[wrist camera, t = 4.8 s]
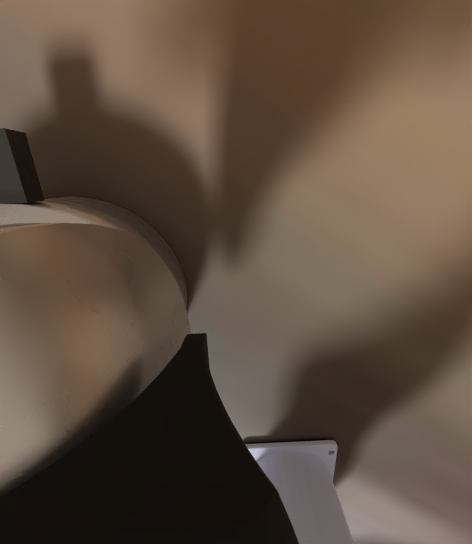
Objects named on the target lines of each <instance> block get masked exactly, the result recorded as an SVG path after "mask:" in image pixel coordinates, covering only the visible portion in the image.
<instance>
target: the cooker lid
mask: <svg viewBox="0 0 472 544" xmlns="http://www.w3.org/2000/svg"><path fill="white" fill-rule="evenodd" d="M187 334H190V327H189V320H188V316H187V311H186V307H185V304H184V300H183V297H182V294H181V291H180V289H179V287H178V284H177V282H176V280H175V278H174V276H173V275H172V273H171V271H170V269H169V268H168V266H167V265H166V264H165V262H164V261H163V260H162V258H161V257H160V256H159V255H158V254H157V253H156V252H155V251H154V250H153V249H152V248H151V247H150V246H148V245H147V244H145V243H144V242H142V241H141V240H139V239H138V238H136V237H134V236H132V235H130V234H127V233H125V232H123V231H120V230H118V229H114V228H110V227H105V226H101V225H96V224H79V223H17V224H7V225H0V497H1V496H3V495H5V494H6V493H8V492H9V491H11V490H12V489H14V488H16V487H17V486H19V485H20V484H22V483H24V482H25V481H27V480H28V479H30V478H31V477H33V476H35V475H36V474H38V473H39V472H41V471H43V470H44V469H46V468H47V467H49V466H50V465H52V464H53V463H54V462H56V461H57V460H59V459H60V458H62V457H63V456H65V455H66V454H67V453H69V452H70V451H72V450H73V449H75V448H76V447H77V446H79V445H80V444H81V443H83V442H84V441H85V440H87V439H88V438H89V437H91V436H92V435H93V434H95V433H96V432H97V431H98V430H100V429H101V428H102V427H103V426H104V425H106V424H107V423H108V422H109V421H111V420H112V419H113V418H114V417H116V416H117V415H118V414H119V413H120V412H122V411H123V410H124V409H125V408H126V407H127V406H128V405H129V404H130V403H131V402H132V401H134V400H135V399H136V398H137V397H138V396H139V395H140V394H141V393H142V392H143V391H144V390H145V389H146V388H147V387H148V385H149V384H150V383H151V382H152V381H153V380H154V379H155V378H156V377H157V376H158V374H159V373H160V372H161V371H162V370H163V369H164V368H165V366H166V365H167V364H168V363H169V362H170V360H171V359H172V358H173V357H174V355H175V354H176V353H177V351H178V350H179V349H180V347H181V346H182V343H183V341H184V339H185V337H186V335H187Z"/></svg>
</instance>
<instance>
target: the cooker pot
mask: <svg viewBox="0 0 472 544" xmlns="http://www.w3.org/2000/svg"><path fill="white" fill-rule="evenodd" d="M17 223H79V224H96V225H101V226H105V227H110V228H114V229H118V230H120V231H123V232H125V233H127V234H130V235H132V236H134V237H136V238H138V239H139V240H141V241H142V242H144V243H145V244H147V245H148V246H150V247H151V248H152V249H153V250H154V251H155V252H156V253H157V254H158V255H159V256H160V257H161V258H162V260H163V261H164V262H165V264H166V265H167V266H168V268H169V269H170V271H171V273H172V275H173V276H174V278H175V280H176V282H177V284H178V287H179V289H180V291H181V294H182V297H183V300H184V304H185V307H186V310H187V287H186V281H185V277H184V274H183V271H182V268H181V266H180V263H179V261H178V259H177V257H176V255H175V254H174V252H173V251H172V249H171V248H170V246H169V245H168V243H167V242H166V241H165V240H164V239H163V237H162V236H161V235H160V234H159V233H158V232H157V231H156V230H155V229H154V228H153V227H152V226H150V225H149V224H148V223H147V222H145V221H144V220H143V219H141V218H140V217H138V216H137V215H135V214H133V213H132V212H130V211H128V210H126V209H124V208H122V207H120V206H117V205H115V204H113V203H109V202H106V201H102V200H99V199H94V198H88V197H72V196H68V197H59V198H50V199H44V197H43V194H42V190H41V187H40V183H39V179H38V176H37V172H36V169H35V165H34V162H33V158H32V155H31V151H30V148H29V144H28V141H27V137H26V134H25V133H23V132H18V131H14V130H9V129H5V128H4V129H0V225H7V224H17Z"/></svg>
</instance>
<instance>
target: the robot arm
mask: <svg viewBox="0 0 472 544" xmlns="http://www.w3.org/2000/svg"><path fill="white" fill-rule="evenodd" d="M337 449H338V446H337V444H336V442H335V441H333V440H321V441H300V442H280V443H259V444H244V442H243V440H242V438H241V437H240V435H239V433H238V432H237V430H236V428H235V426H234V425H233V423H232V421H231V419H230V418H229V416H228V414H227V412H226V410H225V408H224V406H223V403H222V401H221V399H220V397H219V394H218V392H217V390H216V387H215V384H214V382H213V379H212V376H211V373H210V370H209V359H208V347H207V335H206V333H202V334H187V335H186V337H185V339H184V341H183V343H182V346H181V347H180V349H179V350H178V351H177V353H176V354H175V355H174V357H173V358H172V359H171V360H170V362H169V363H168V364H167V365H166V366H165V368H164V369H163V370H162V371H161V372H160V373H159V374H158V376H157V377H156V378H155V379H154V380H153V381H152V382H151V383H150V384H149V385H148V387H147V388H146V389H145V390H144V391H143V392H142V393H141V394H140V395H139V396H138V397H137V398H136V399H135V400H134V401H132V402H131V403H130V404H129V405H128V406H127V407H126V408H125V409H124V410H123V411H122V412H120V413H119V414H118V415H117V416H116V417H114V418H113V419H112V420H111V421H109V422H108V423H107V424H106V425H104V426H103V427H102V428H101V429H100V430H98V431H97V432H96V433H95V434H93V435H92V436H91V437H89V438H88V439H87V440H85V441H84V442H83V443H81V444H80V445H79V446H77V447H76V448H75V449H73V450H72V451H70V452H69V453H67V454H66V455H65V456H63V457H62V458H60V459H59V460H57V461H56V462H54V463H53V464H52V465H50V466H49V467H47V468H46V469H44V470H43V471H41V472H39V473H38V474H36V475H35V476H33V477H31V478H30V479H28V480H27V481H25V482H24V483H22V484H20V485H19V486H17V487H16V488H14V489H12V490H11V491H9V492H8V493H6V494H5V495H3V496H1V497H0V544H354V542H353V539H352V537H351V534H350V531H349V528H348V525H347V522H346V519H345V516H344V513H343V510H342V507H341V504H340V501H339V498H338V495H337V493H336V490H335V487H334V484H333V477H334V470H335V463H336V456H337Z"/></svg>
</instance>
